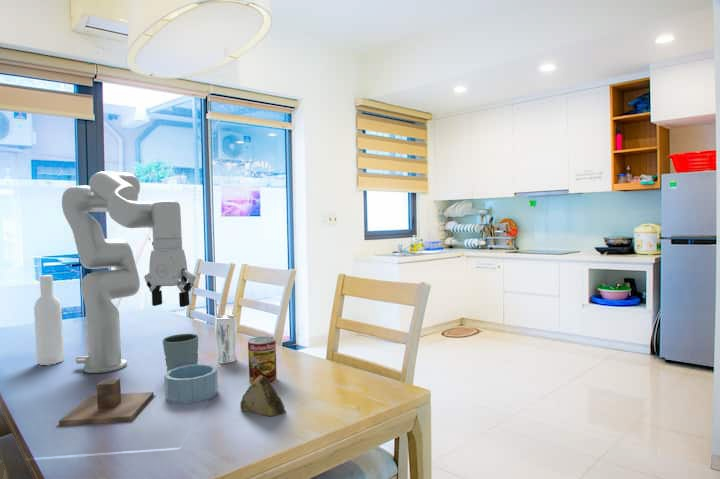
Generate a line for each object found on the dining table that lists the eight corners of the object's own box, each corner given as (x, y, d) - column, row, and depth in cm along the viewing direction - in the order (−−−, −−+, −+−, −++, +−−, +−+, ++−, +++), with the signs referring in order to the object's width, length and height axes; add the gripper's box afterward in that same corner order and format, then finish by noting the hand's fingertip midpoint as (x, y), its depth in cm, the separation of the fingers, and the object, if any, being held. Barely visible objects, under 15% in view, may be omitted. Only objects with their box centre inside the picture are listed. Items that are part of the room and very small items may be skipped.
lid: (59, 425, 110) (57, 395, 110) (90, 400, 126) (89, 373, 126) (131, 421, 112) (129, 390, 112) (153, 396, 128) (152, 369, 128)
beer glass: (232, 364, 156) (230, 319, 155) (212, 363, 158) (210, 318, 157) (241, 358, 163) (239, 314, 162) (222, 357, 164) (221, 314, 164)
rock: (227, 403, 117) (244, 409, 109) (244, 370, 121) (262, 374, 113) (261, 420, 122) (280, 427, 114) (277, 388, 126) (296, 393, 118)
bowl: (159, 406, 122) (158, 381, 122) (174, 388, 135) (173, 365, 135) (211, 402, 123) (210, 378, 123) (221, 385, 136) (220, 363, 136)
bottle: (67, 361, 164) (62, 275, 163) (40, 367, 158) (35, 277, 157) (60, 357, 170) (55, 273, 168) (34, 363, 164) (29, 276, 163)
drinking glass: (206, 372, 148) (205, 334, 148) (184, 383, 139) (183, 342, 138) (179, 370, 152) (178, 332, 151) (156, 380, 142) (154, 340, 142)
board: (55, 428, 110) (55, 427, 110) (89, 400, 127) (89, 399, 127) (132, 423, 112) (132, 421, 112) (156, 396, 129) (156, 395, 129)
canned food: (253, 386, 134) (251, 344, 134) (246, 379, 141) (244, 338, 141) (280, 381, 138) (278, 340, 138) (272, 374, 145) (270, 335, 145)
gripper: (133, 246, 134) (136, 307, 134) (183, 245, 127) (186, 309, 128) (154, 244, 141) (157, 302, 141) (201, 243, 134) (204, 304, 135)
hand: (170, 305), depth 135 cm, fingers open, 9 cm apart
